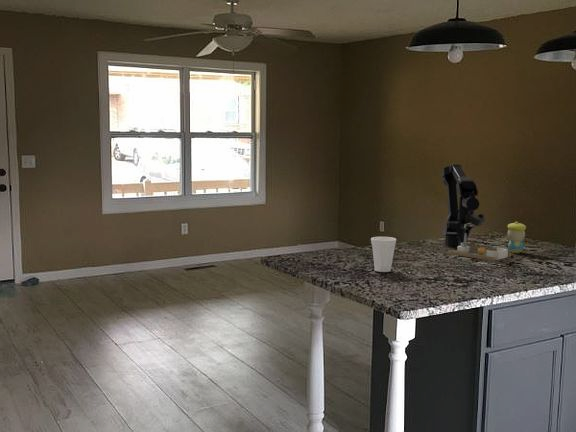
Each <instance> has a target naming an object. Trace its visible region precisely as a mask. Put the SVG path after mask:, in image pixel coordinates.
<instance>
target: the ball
mask: <svg viewBox="0 0 576 432" xmlns="http://www.w3.org/2000/svg"><path fill="white" fill-rule="evenodd" d="M478 248H479V249H478V251H477V252H478V254H479V255H484V254H485V252H486V250H485V249H486V248H485V247H482V246H481V247H478Z"/></svg>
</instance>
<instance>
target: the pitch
mask: <svg viewBox="0 0 576 432" xmlns="http://www.w3.org/2000/svg"><path fill="white" fill-rule="evenodd" d="M479 248H480V247H474V246H469V252H462V251H457V250H455V249H454V250H450V249H449V250H448V249H447V254H448V255H453V256H459V257H467V258H471V259H478V260H484V261H488V262H495V261H497V260H495V257H489V256H486V252H487V250H490V251H496V250H497V249H496V250H495V249H489V248H484V249H485V250H486V252H485V254H484V255H479V254H478V252H477V251H478V249H479ZM510 257H512V253H511V252H510V251H508V257H506V258H510ZM506 258H505V259H506ZM499 260H501V259H499ZM499 260H498V261H499Z"/></svg>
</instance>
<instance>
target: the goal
mask: <svg viewBox="0 0 576 432" xmlns="http://www.w3.org/2000/svg"><path fill="white" fill-rule="evenodd" d="M490 250H491V249H489V250H487V252H486V256H489V257H495V260H496V261H499V259H500V260H503V259H506V257H507V258H509V257H508V252H509V249H508V248H503V247H502V248H501V247H496V251H490Z"/></svg>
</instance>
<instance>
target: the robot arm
mask: <svg viewBox="0 0 576 432" xmlns="http://www.w3.org/2000/svg"><path fill="white" fill-rule="evenodd" d="M440 176H441V179H442V183H443V185H444V186H445V188H446V197H447V209H448V211H447V212H448V216H447V218H446V220H445V224H444V226H443V228H442V234H443V235H445V243H444V245H445V246H446V247H449V248H457V246H461V242H462V243H463V241H464V235H465V233H467V239H466V242H468V239H469V236H470V233H471V231H472V230H473V229H475V228H476V227H479V226H481V227H482V225H483V224H484V222H485V215H484V214H482V213H480V214H476V213H475V211H476V210H478V208H479V207H480V201H479V199H478V198H476V197H478V195H479V194H478V193H479V190H478V188H477V185H476V182H475V180H473V178H471V177H468V176H467V175H466V173H465V172H464V169H463V167H462V165H461V164H460V163H459V164H458V163H451V164H450V165H448V166H445V167H444V168H442V169H441V172H440Z"/></svg>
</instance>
